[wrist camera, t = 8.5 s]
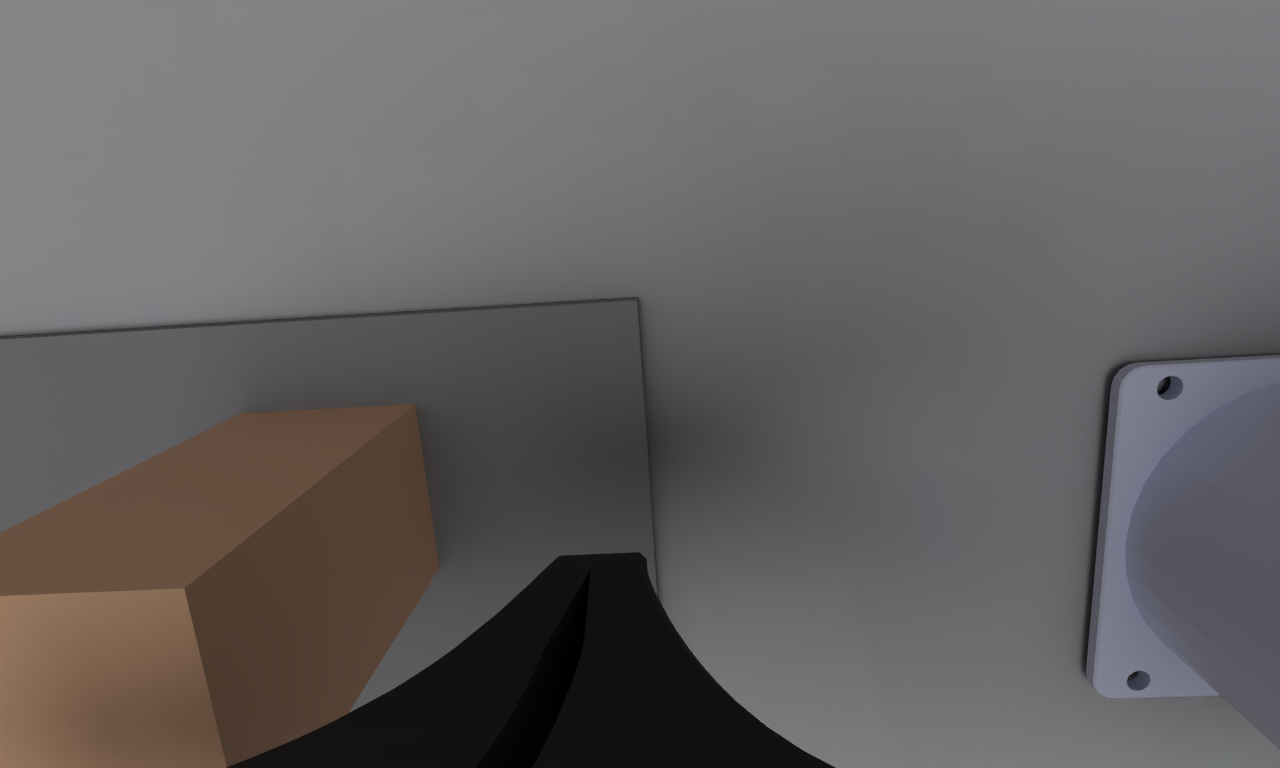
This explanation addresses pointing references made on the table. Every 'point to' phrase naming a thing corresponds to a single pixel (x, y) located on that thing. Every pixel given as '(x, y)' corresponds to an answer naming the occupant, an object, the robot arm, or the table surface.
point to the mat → (373, 376)
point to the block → (214, 593)
